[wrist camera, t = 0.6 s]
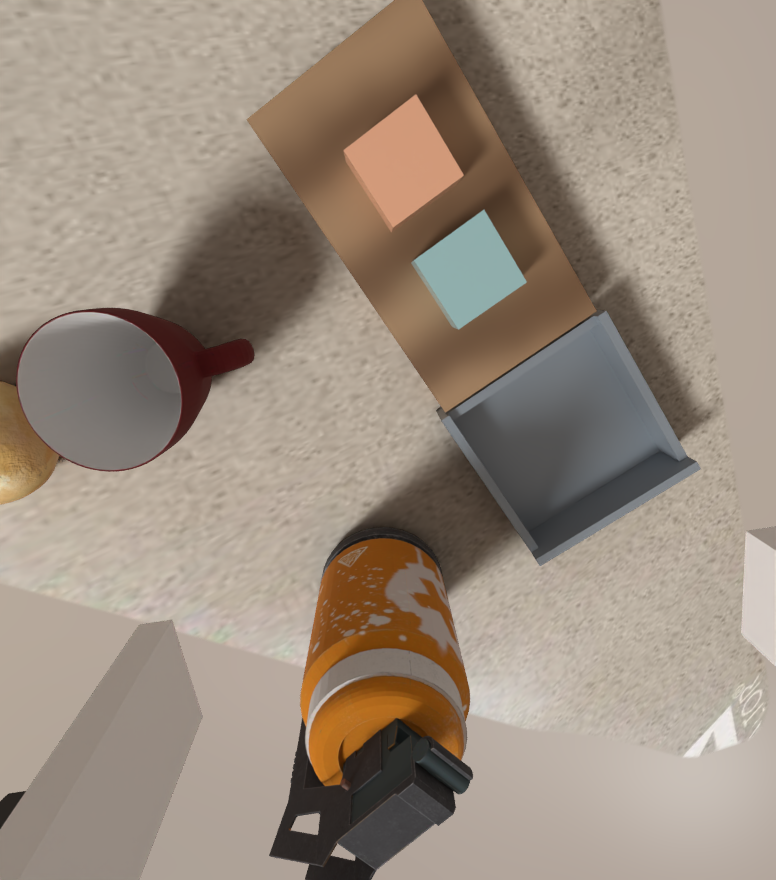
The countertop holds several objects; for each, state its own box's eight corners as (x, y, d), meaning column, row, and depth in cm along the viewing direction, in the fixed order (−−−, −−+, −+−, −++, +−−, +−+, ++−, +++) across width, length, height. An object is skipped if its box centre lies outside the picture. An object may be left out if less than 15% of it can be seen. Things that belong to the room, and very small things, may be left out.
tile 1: (410, 262, 31) (413, 260, 29) (475, 215, 30) (483, 209, 28) (452, 326, 32) (458, 329, 30) (515, 282, 31) (526, 282, 29)
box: (436, 410, 37) (443, 424, 33) (587, 308, 35) (613, 311, 31) (524, 539, 39) (540, 566, 36) (667, 450, 38) (700, 469, 34)
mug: (236, 269, 34) (181, 261, 24) (289, 385, 36) (257, 420, 26) (90, 332, 35) (-19, 348, 25) (150, 442, 37) (70, 495, 27)
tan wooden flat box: (258, 135, 32) (246, 119, 29) (409, 14, 30) (413, -16, 27) (439, 403, 36) (445, 412, 34) (578, 309, 35) (596, 311, 32)
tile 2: (345, 161, 29) (343, 150, 27) (412, 110, 29) (416, 94, 26) (391, 232, 31) (393, 227, 28) (456, 184, 30) (464, 175, 28)
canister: (465, 575, 40) (549, 837, 21) (365, 665, 42) (356, 980, 23) (380, 499, 38) (387, 710, 19) (279, 597, 40) (193, 877, 21)
